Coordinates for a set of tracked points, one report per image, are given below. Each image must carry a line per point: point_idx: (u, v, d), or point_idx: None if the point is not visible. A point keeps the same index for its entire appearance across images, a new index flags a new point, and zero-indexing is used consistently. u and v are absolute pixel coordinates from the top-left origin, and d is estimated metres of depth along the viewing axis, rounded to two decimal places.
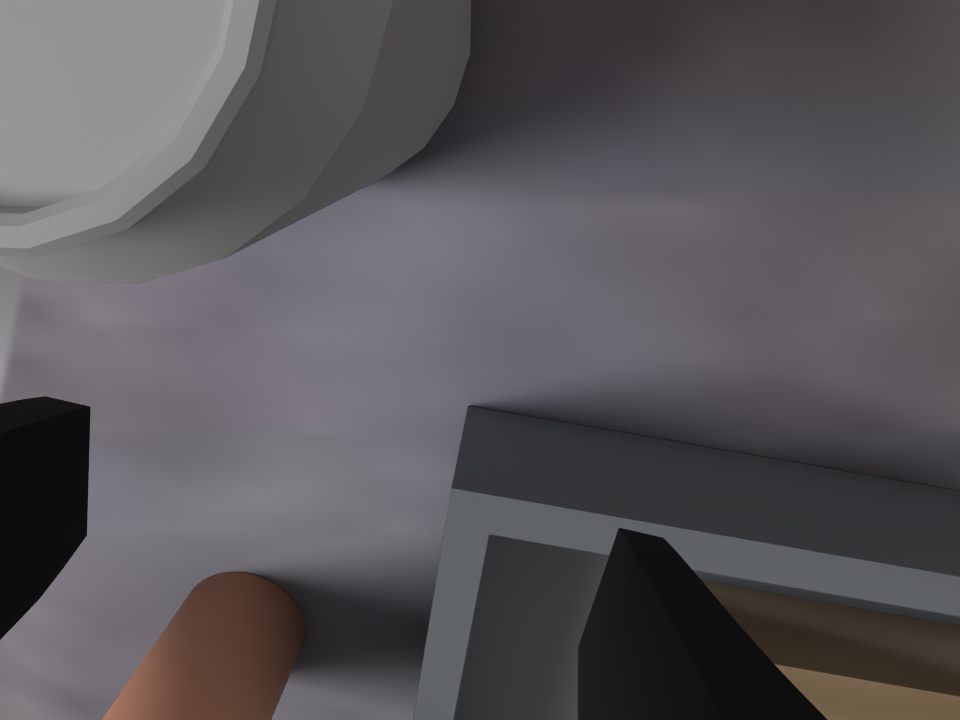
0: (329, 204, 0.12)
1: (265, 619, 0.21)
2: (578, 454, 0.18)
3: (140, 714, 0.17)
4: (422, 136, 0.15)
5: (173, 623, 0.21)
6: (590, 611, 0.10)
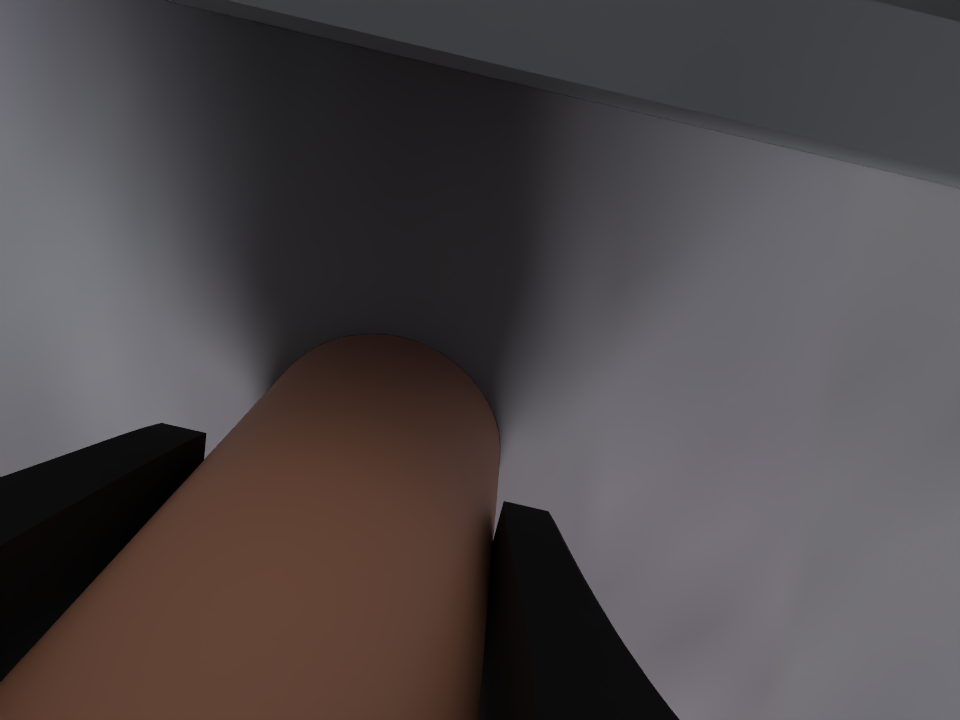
0: None
1: None
2: None
3: None
4: None
5: None
6: None
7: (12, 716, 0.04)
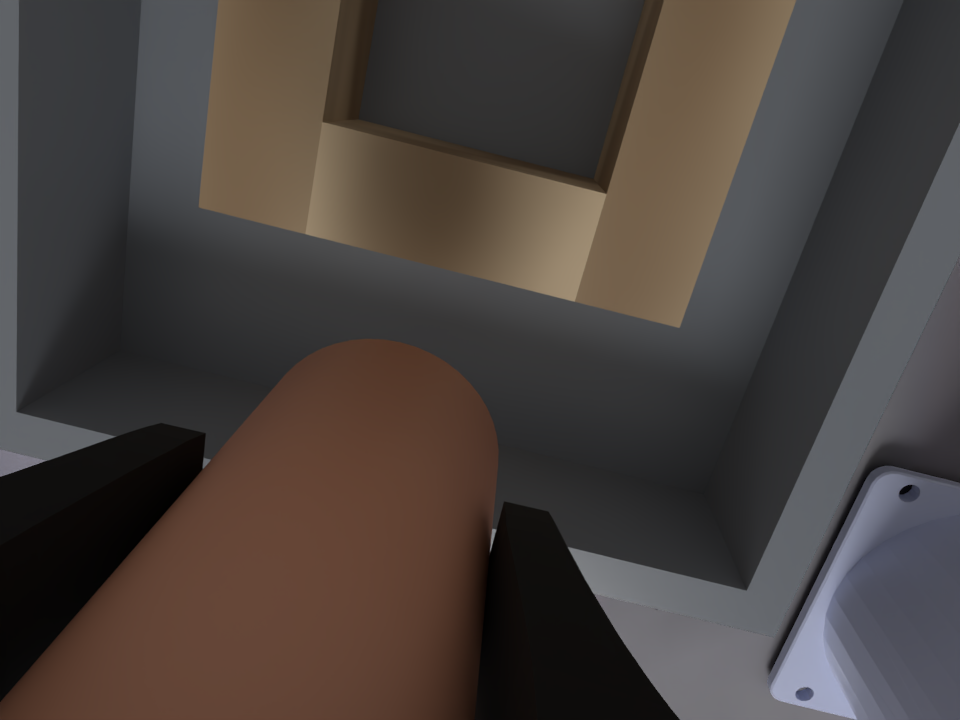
0: None
1: (260, 406, 0.10)
2: None
3: None
4: None
5: None
6: None
7: None
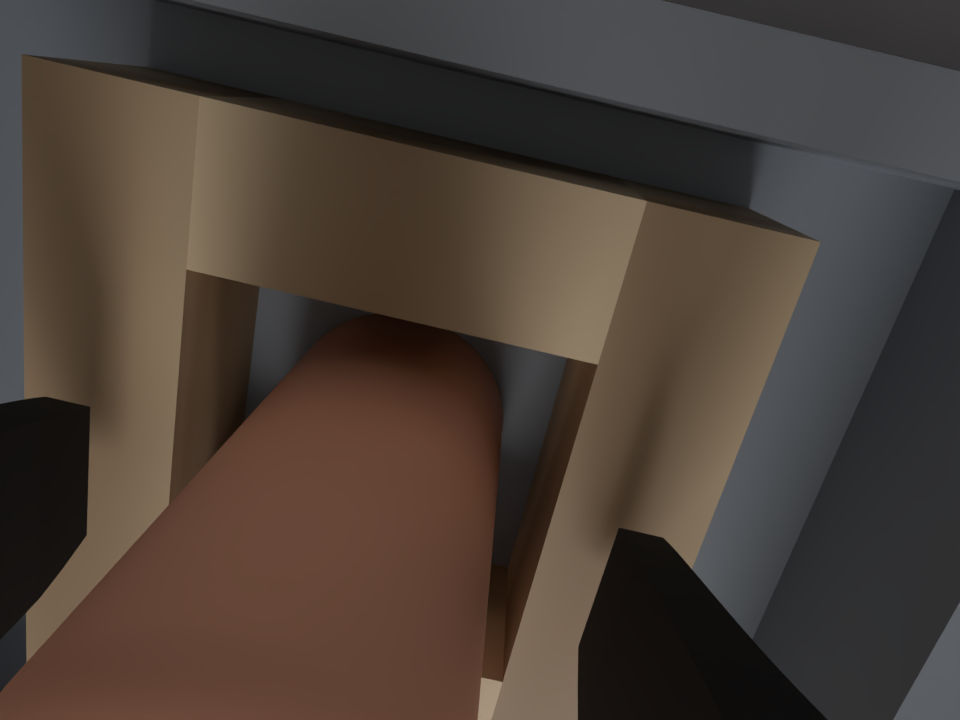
0: None
1: (294, 368, 0.11)
2: None
3: None
4: None
5: None
6: (590, 611, 0.10)
7: (139, 575, 0.06)
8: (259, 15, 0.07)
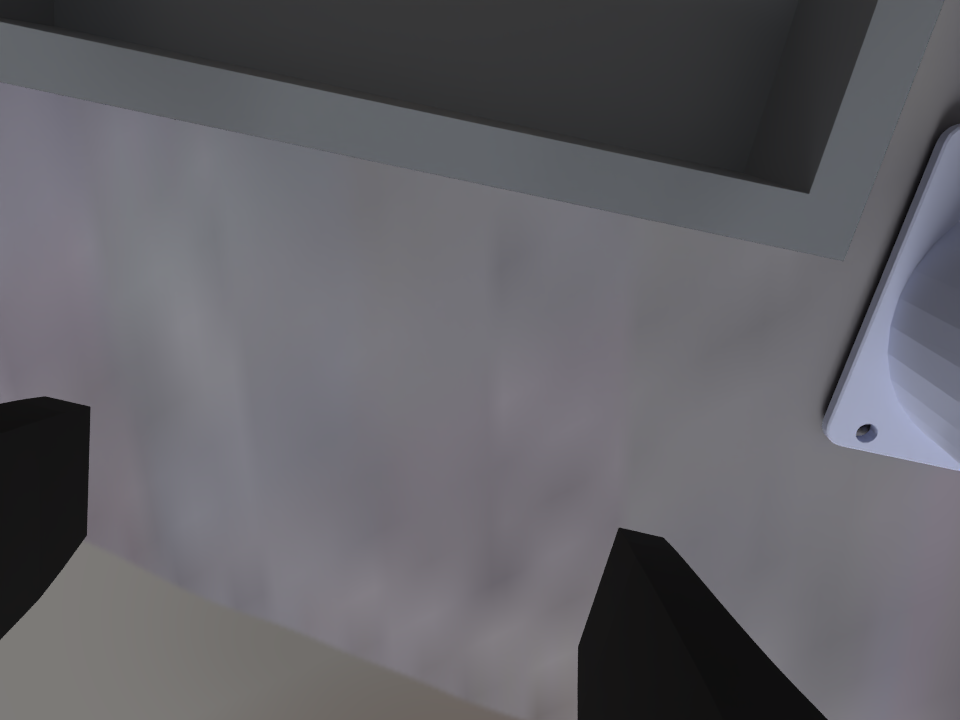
0: None
1: None
2: None
3: None
4: None
5: None
6: (590, 611, 0.10)
7: None
8: None
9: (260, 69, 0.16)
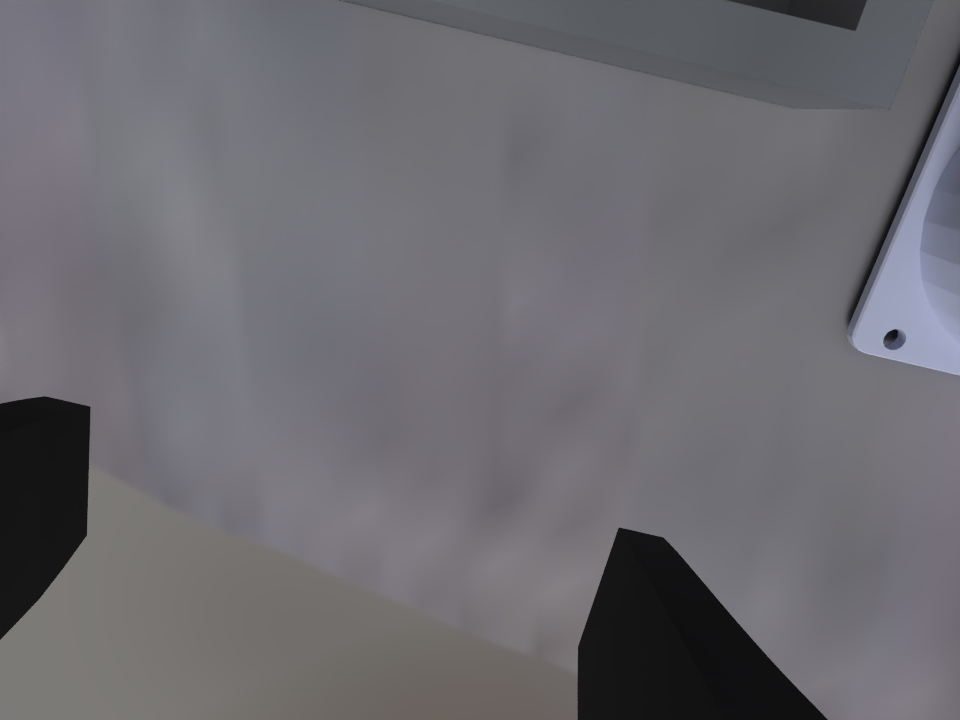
0: None
1: None
2: None
3: None
4: None
5: None
6: (590, 611, 0.10)
7: None
8: None
9: None
